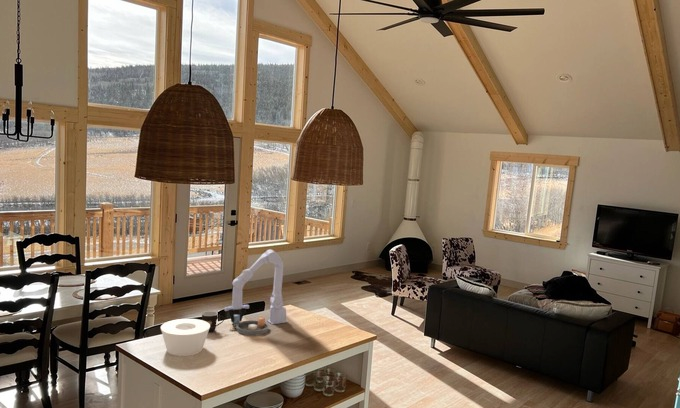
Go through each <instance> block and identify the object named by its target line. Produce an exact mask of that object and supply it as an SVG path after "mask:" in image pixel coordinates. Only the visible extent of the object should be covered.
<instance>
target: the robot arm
mask: <svg viewBox="0 0 680 408" xmlns="http://www.w3.org/2000/svg"><path fill="white" fill-rule="evenodd" d="M269 262H270V263H271V264H273V265H274V276H273V287H272V293H271V296H270V298H269V302H270V304H271V305H270V306H269V307H270V308H269V309H270V310H269V319H267V320H266V321H267V322H268V323H270V324H271V325H278V324H279V325H280V324H284V323H287V309H286V307H285V306H284V301H283V294H282V287H283V277H284V261H283V260H282V259H281V256H280V255H279V254H278V253H277V252H276V251H275V250H274V249H267V250H266V251H265V252H263V253H262V254H261V256H260V257H259V258H257V260H256V261H255V262H254V263H253V264H252V265H251V266H250V267H249V268H246V269H243V270H242V272H241V273H240V274H239V276H236V278H235V279H233V281H232V283H231V285H232V295H231V297H232V298H231V299H232V300H231V305H229V306H225V307H223V309H224V311H225V312H228V314H229V317H230V322H231V323H232V324H233V322H234V315H235V310H236V311H237V310H238V315H240V322H242V320H243V316H244V315H245V313H246V310H247V309H250V305H249V304H243V289H244V288H245V284H246V283H248V282H249V280H251V278H253V277H254V273H255V272H256V271H257V270H258V269H259V268H260V267H261V266H262V265H263V264H264V265H265V264H269Z"/></svg>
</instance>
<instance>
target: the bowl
mask: <svg viewBox="0 0 680 408" xmlns="http://www.w3.org/2000/svg"><path fill="white" fill-rule="evenodd" d="M209 328H210V324H209V323H208V322H206V321H203V320H202V319H198V318H177V319H172V320H169V321H166V322H164V323H162V324H161V325H160V331H161V334H162V338H163V342H164V345H165V348H166V351H168V352H167V353H168V354H170V355H172V356H178V357H188V356H187V355H189V356H193V355H197V354H199V353H200V352H202V350H203V348H204V345H205V342H206V339H207V337H208V334H209V333H208V331H209Z"/></svg>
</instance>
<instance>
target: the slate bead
mask: <svg viewBox="0 0 680 408" xmlns="http://www.w3.org/2000/svg"><path fill="white" fill-rule="evenodd" d="M238 323H240V315H239V314H234V322H233V323H232V325H234V326H237V324H238Z"/></svg>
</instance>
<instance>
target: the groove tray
mask: <svg viewBox="0 0 680 408" xmlns="http://www.w3.org/2000/svg"><path fill="white" fill-rule="evenodd" d="M269 329H270V326H269V324H268V323H267V322H265V327H264V328H258V320H244V321H241V322H240V323H238V324H237V325H235V331H236V332H237V333H238V334H240V335H244V336H251V337H252V336H262V335H265V334H266V333H268V332H269Z"/></svg>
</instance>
